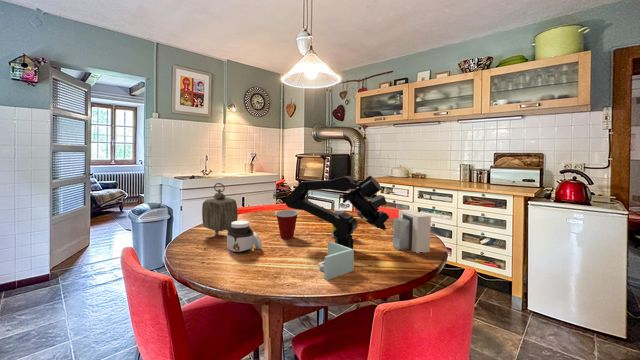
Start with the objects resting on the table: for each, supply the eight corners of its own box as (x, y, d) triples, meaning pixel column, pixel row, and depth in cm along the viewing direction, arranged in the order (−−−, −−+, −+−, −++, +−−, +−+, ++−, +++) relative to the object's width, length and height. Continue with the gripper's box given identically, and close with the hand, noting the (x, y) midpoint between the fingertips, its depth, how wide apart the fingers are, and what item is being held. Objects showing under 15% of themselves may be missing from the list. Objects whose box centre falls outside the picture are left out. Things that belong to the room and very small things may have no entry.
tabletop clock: (237, 236, 138) (237, 183, 136) (222, 241, 131) (221, 184, 128) (217, 232, 146) (216, 181, 144) (201, 236, 138) (199, 182, 136)
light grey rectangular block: (399, 250, 121) (400, 220, 120) (392, 246, 126) (393, 218, 124) (420, 248, 123) (421, 219, 122) (413, 244, 128) (414, 217, 127)
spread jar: (224, 251, 117) (223, 222, 116) (244, 244, 127) (243, 217, 126) (247, 257, 111) (247, 226, 110) (266, 248, 121) (266, 220, 120)
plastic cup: (270, 239, 134) (270, 213, 133) (280, 233, 145) (280, 209, 143) (293, 241, 131) (293, 215, 130) (301, 235, 141) (302, 210, 140)
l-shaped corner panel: (329, 261, 109) (329, 241, 108) (353, 271, 100) (353, 249, 99) (303, 269, 101) (303, 247, 100) (326, 280, 92) (326, 257, 91)
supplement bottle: (340, 239, 136) (341, 211, 135) (328, 236, 140) (329, 209, 139) (348, 236, 141) (348, 209, 140) (336, 233, 145) (337, 207, 144)
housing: (416, 253, 118) (417, 216, 117) (397, 242, 131) (398, 210, 130) (429, 251, 119) (430, 216, 118) (409, 241, 133) (410, 209, 132)
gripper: (385, 191, 109) (410, 220, 112) (365, 185, 127) (387, 210, 130) (364, 213, 107) (390, 241, 111) (347, 204, 125) (370, 229, 129)
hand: (385, 229), depth 120 cm, fingers closed
